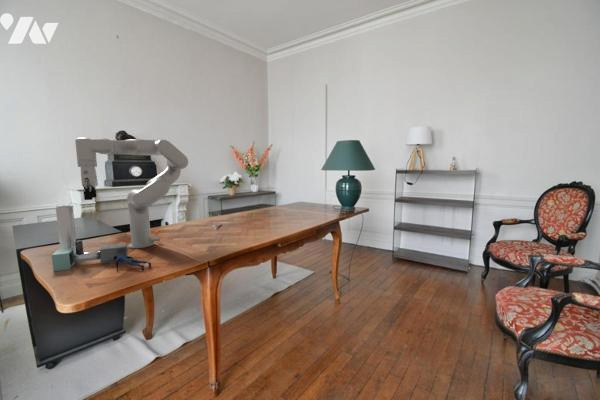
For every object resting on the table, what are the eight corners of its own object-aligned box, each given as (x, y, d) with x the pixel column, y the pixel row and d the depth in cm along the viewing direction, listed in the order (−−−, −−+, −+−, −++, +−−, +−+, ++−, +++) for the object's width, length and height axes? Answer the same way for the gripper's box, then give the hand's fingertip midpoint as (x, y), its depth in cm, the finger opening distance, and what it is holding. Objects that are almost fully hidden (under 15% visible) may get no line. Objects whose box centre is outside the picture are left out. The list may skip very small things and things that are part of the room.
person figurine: (156, 268, 126) (124, 260, 130) (157, 259, 125) (124, 251, 129) (137, 278, 116) (102, 268, 119) (138, 268, 115) (103, 258, 119)
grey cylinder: (68, 256, 137) (62, 206, 134) (57, 255, 138) (51, 205, 135) (80, 252, 143) (75, 204, 140) (70, 251, 145) (65, 203, 141)
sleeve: (128, 256, 137) (127, 243, 136) (126, 260, 131) (125, 246, 130) (103, 259, 132) (102, 245, 131) (101, 264, 126) (99, 249, 125)
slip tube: (109, 257, 132) (107, 237, 131) (107, 259, 128) (106, 239, 127) (63, 262, 124) (61, 241, 123) (61, 265, 121) (58, 244, 119)
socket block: (75, 262, 128) (73, 247, 127) (69, 269, 120) (68, 253, 119) (60, 264, 126) (58, 249, 125) (53, 271, 118) (51, 255, 117)
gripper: (93, 163, 129) (96, 200, 131) (99, 163, 144) (102, 196, 147) (73, 163, 126) (76, 201, 128) (81, 163, 141) (85, 197, 143)
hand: (90, 198), depth 137 cm, fingers open, 9 cm apart
